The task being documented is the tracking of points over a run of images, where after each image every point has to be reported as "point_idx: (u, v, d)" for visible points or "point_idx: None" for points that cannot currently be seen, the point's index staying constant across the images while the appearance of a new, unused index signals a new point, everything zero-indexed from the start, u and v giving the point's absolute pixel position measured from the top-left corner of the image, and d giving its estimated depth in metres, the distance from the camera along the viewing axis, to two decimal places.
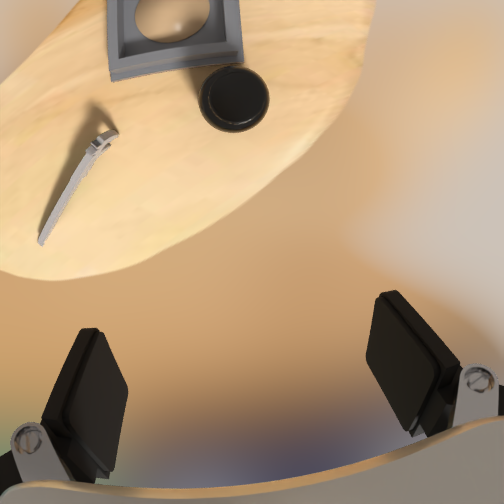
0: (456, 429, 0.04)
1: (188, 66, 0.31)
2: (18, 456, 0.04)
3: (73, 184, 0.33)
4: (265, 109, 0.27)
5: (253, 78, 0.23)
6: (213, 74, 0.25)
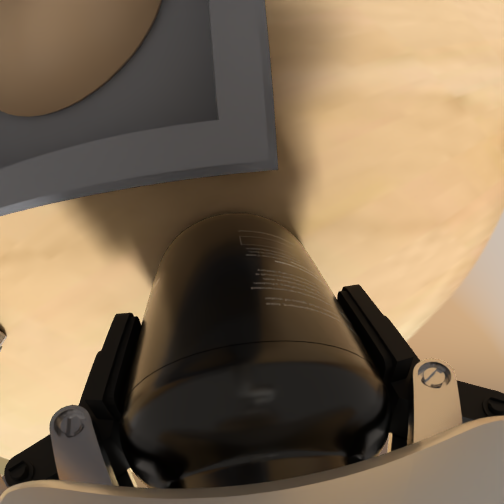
0: (456, 429, 0.04)
1: (104, 189, 0.11)
2: (59, 440, 0.05)
3: None
4: None
5: None
6: (157, 417, 0.05)
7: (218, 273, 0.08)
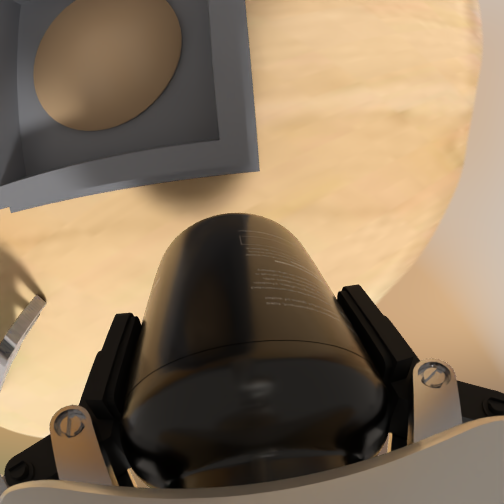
0: (456, 429, 0.04)
1: (141, 184, 0.16)
2: (60, 440, 0.05)
3: None
4: None
5: None
6: (157, 416, 0.05)
7: (219, 273, 0.08)
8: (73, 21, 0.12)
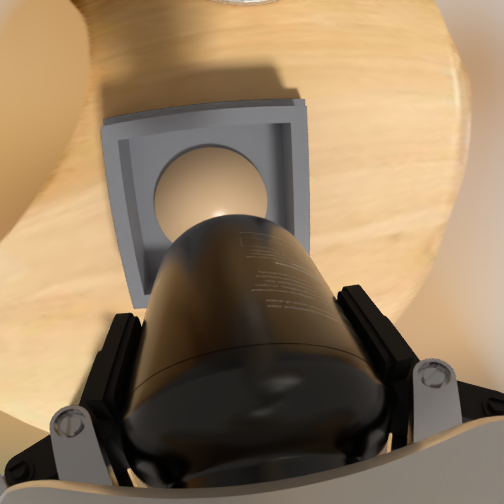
0: (456, 429, 0.04)
1: None
2: (59, 440, 0.05)
3: None
4: None
5: None
6: (158, 419, 0.05)
7: (219, 275, 0.08)
8: (186, 173, 0.23)
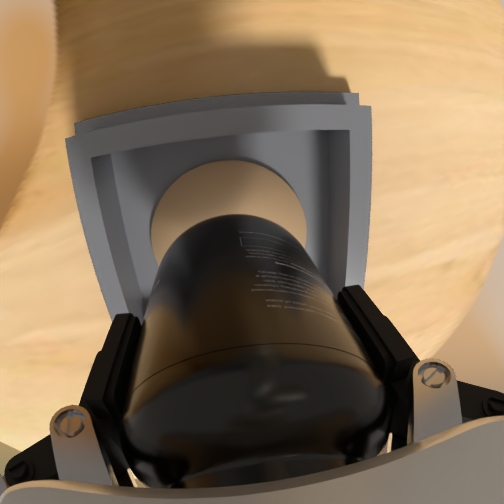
0: (456, 429, 0.04)
1: None
2: (59, 440, 0.05)
3: None
4: None
5: None
6: (157, 419, 0.05)
7: (219, 275, 0.08)
8: (193, 198, 0.17)
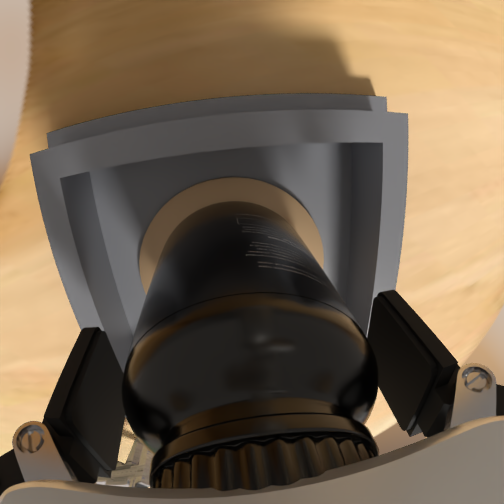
0: (456, 429, 0.04)
1: None
2: (20, 455, 0.04)
3: None
4: None
5: None
6: (158, 361, 0.06)
7: (217, 245, 0.09)
8: None
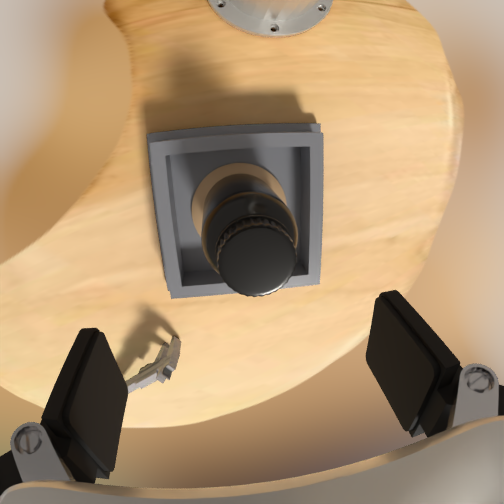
0: (456, 429, 0.04)
1: None
2: (18, 456, 0.04)
3: (137, 386, 0.34)
4: None
5: (282, 236, 0.18)
6: (222, 207, 0.20)
7: (238, 183, 0.23)
8: None
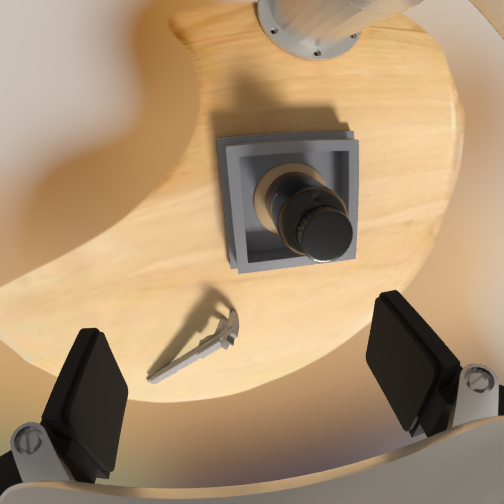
0: (456, 428, 0.04)
1: None
2: (18, 456, 0.04)
3: (198, 356, 0.42)
4: None
5: (344, 218, 0.25)
6: (297, 198, 0.27)
7: (300, 180, 0.30)
8: None
